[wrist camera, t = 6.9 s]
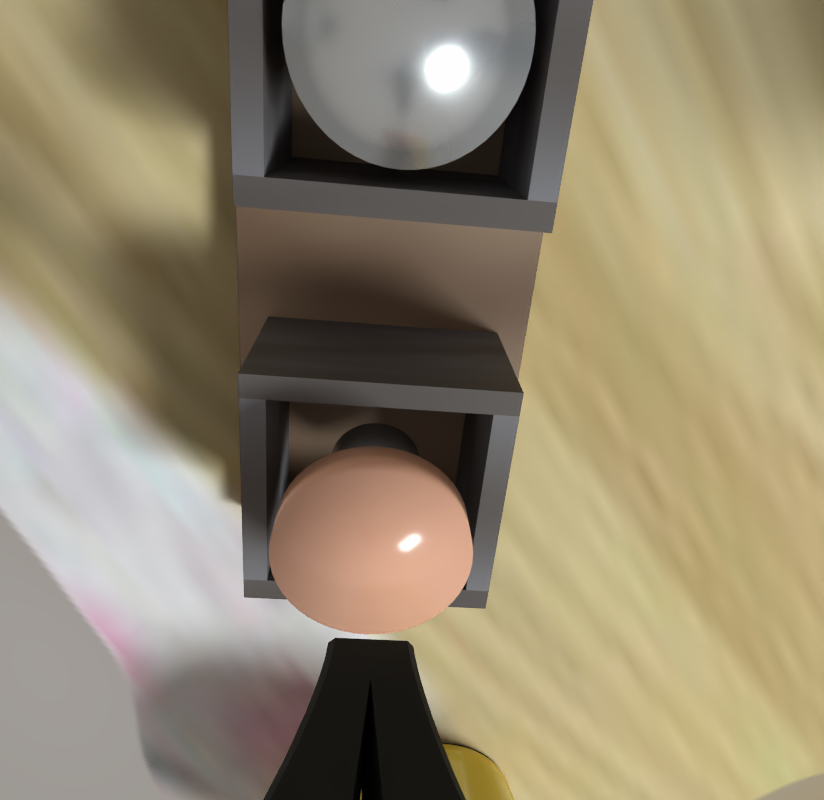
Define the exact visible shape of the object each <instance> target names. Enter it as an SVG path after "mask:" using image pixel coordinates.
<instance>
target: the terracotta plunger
mask: <svg viewBox="0 0 824 800" xmlns="http://www.w3.org/2000/svg"><path fill="white" fill-rule="evenodd" d="M269 561H270V567H271V571H272V574H273V577H274V579H275V581H276V584H277V585H278V587H279V588H280V590H281V592H282V593H283V595H284V596H285V597H286V598H287V599H288V601H289V602H290V603H291V604H292V605H294V606H295V607H296V608H297V609H298V610H299V611H301V612H302V613H303V614H305V615H306V616H308V617H309V618H311V619H313V620H315V621H317V622H318V623H321V624H323V625H326V626H328V627H331V628H334V629H337V630H341V631H346V632H351V633H359V634H384V633H392V632H397V631H402V630H405V629H408V628H412V627H415V626H417V625H419V624H422V623H424V622H426V621H428V620H429V619H431V618H433V617H435V616H436V615H438V614H439V613H440V612H442V611H443V610H444V609H446V608H447V607H448V606H449V605H450V604H451V603H452V602H453V601H454V600H455V598H456V597H457V596H458V595H459V593H460V592H461V590H462V589H463V587H464V585H465V584H466V582H467V579H468V577H469V574H470V571H471V567H472V561H473V544H472V538H471V532H470V526H469V521H468V515H467V511H466V507H465V504H464V501H463V499H462V497H461V494H460V493H459V491H458V489H457V488H456V486H455V485H454V484H453V482H452V481H451V480H450V479H449V478H448V476H447V475H445V474H444V473H443V472H442V471H441V470H440V469H439V468H437V467H436V466H434V465H433V464H432V463H430V462H429V461H427V460H425V459H423V458H421V457H419V453H418V450H417V448H416V445H415V444H414V442H413V441H412V440H411V438H410V437H409V436H408V435H407V434H406V433H404V432H403V431H401V430H400V429H398V428H396V427H393V426H391V425H387V424H381V423H369V424H363V425H359V426H357V427H354V428H352V429H350V430H349V431H347V432H346V433H345V434H343V435H342V436H341V437H340V439H339V440H338V441H337V443H336V444H335V446H334V448H333V451H332V454H329V455H327V456H325V457H323V458H321V459H319V460H317V461H315V462H314V463H312V464H311V465H309V466H308V467H306V468H305V469H304V470H303V471H302V472H301V473H299V474H298V475H297V476H296V477H295V479H294V480H293V481H292V482H291V483H290V485H289V486H288V488H287V489H286V491H285V493H284V494H283V497H282V499H281V501H280V504H279V507H278V511H277V515H276V519H275V523H274V526H273V530H272V534H271V538H270V543H269Z"/></svg>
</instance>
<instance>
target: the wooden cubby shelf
mask: <svg viewBox="0 0 824 800" xmlns="http://www.w3.org/2000/svg"><path fill="white" fill-rule="evenodd" d="M283 1H284V0H228V33H229V69H230V105H231V141H232V177H233V206H236V223H237V262H238V300H239V339H240V371H239V373H238V394H239V430H240V466H241V502H242V538H243V574H244V597H248V598H270V599H287V598H286V597H285V596H284V595H283V593H282V592H281V590H280V588H279V587H278V585H277V584H276V581H275V579H274V577H273V574H272V571H271V567H270V561H269V543H270V538H271V534H272V530H273V526H274V523H275V519H276V515H277V511H278V507H279V504H280V501H281V499H282V497H283V494H284V493H285V491H286V489H287V488H288V486H289V485H290V483H291V482H292V481H293V480H294V479H295V477H296V476H297V475H298V474H299V473H301V472H302V471H303V470H304V469H305V468H306V467H308V466H309V465H311V464H312V463H314V462H315V461H317V460H319V459H321V458H323V457H325V456H327V455H329V454H332V451H333V448H334V446H335V444H336V443H337V441H338V440H339V439H340V437H341V436H342V435H343V434H345V433H346V432H347V431H349V430H350V429H352V428H354V427H357V426H359V425H363V424H369V423H381V424H387V425H391V426H393V427H396V428H398V429H400V430H401V431H403V432H404V433H406V434H407V435H408V436H409V437H410V438H411V440H412V441H413V442H414V444H415V445H416V448H417V450H418V453H419V457H421V458H423V459H425V460H427V461H429V462H430V463H432V464H433V465H434V466H436V467H437V468H439V469H440V470H441V471H442V472H443V473H444V474H445V475H447V476H448V478H449V479H450V480H451V481H452V482H453V484H454V485H455V486H456V488H457V489H458V491H459V493H460V494H461V497H462V499H463V501H464V504H465V507H466V511H467V515H468V521H469V526H470V532H471V538H472V544H473V561H472V567H471V571H470V574H469V577H468V579H467V582H466V584H465V585H464V587H463V589H462V590H461V592H460V593H459V595H458V596H457V597H456V598H455V600H454V601H453V602H452V603H451V604H450V605H449V606H448V607H464V608H486V602H487V596H488V591H489V585H490V579H491V574H492V568H493V563H494V557H495V551H496V546H497V540H498V534H499V529H500V523H501V517H502V512H503V506H504V501H505V495H506V489H507V484H508V478H509V472H510V467H511V461H512V455H513V450H514V444H515V438H516V433H517V427H518V422H519V416H520V410H521V405H522V399H523V391H522V388H521V386H520V384H519V381H518V376H519V370H520V365H521V359H522V353H523V347H524V341H525V335H526V330H527V324H528V318H529V312H530V306H531V300H532V295H533V289H534V283H535V277H536V271H537V266H538V260H539V254H540V248H541V242H542V236H543V232H545V233H552V230H553V224H554V219H555V213H556V207H557V202H558V196H559V190H560V185H561V179H562V173H563V168H564V162H565V156H566V151H567V145H568V140H569V134H570V128H571V123H572V117H573V111H574V106H575V100H576V94H577V89H578V83H579V78H580V72H581V66H582V61H583V55H584V49H585V44H586V38H587V32H588V27H589V21H590V15H591V10H592V4H593V0H534V6H535V22H536V33H535V44H534V52H533V57H532V62H531V66H530V70H529V73H528V76H527V79H526V82H525V85H524V87H523V89H522V91H521V94H520V96H519V98H518V100H517V102H516V104H515V105H514V107H513V108H512V110H511V112H510V113H509V115H508V116H507V118H506V119H505V120H504V121H503V123H502V124H501V125H500V127H499V128H498V129H497V130H496V131H495V132H494V133H493V134H492V135H491V136H490V137H489V138H488V139H487V140H486V141H485V142H483V143H482V144H481V145H479V146H478V147H477V148H475V149H474V150H473V151H471V152H469V153H467V154H466V155H464V156H462V157H461V158H459V159H456V160H454V161H451V162H449V163H446V164H444V165H440V166H436V167H432V168H426V169H418V170H399V169H393V168H386V167H382V166H379V165H375V164H372V163H369V162H367V161H365V160H362V159H360V158H358V157H356V156H354V155H352V154H351V153H349V152H348V151H346V150H344V149H343V148H341V147H340V146H339V145H338V144H336V143H335V142H334V141H333V140H332V139H330V138H329V137H328V136H327V135H326V134H325V133H324V132H323V131H322V129H321V128H320V127H319V126H318V125H317V124H316V123H315V121H314V120H313V119H312V117H311V116H310V115H309V113H308V112H307V110H306V109H305V107H304V105H303V103H302V101H301V100H300V98H299V96H298V94H297V92H296V89H295V87H294V85H293V82H292V80H291V77H290V73H289V70H288V66H287V63H286V58H285V53H284V47H283V37H282V11H283Z"/></svg>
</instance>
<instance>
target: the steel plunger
mask: <svg viewBox="0 0 824 800" xmlns="http://www.w3.org/2000/svg"><path fill="white" fill-rule="evenodd" d="M535 33H536V22H535V6H534V0H284V1H283V11H282V37H283V47H284V53H285V58H286V63H287V66H288V70H289V73H290V77H291V80H292V82H293V85H294V87H295V89H296V92H297V94H298V96H299V98H300V100H301V101H302V103H303V105H304V107H305V109H306V110H307V112H308V113H309V115H310V116H311V117H312V119H313V120H314V121H315V123H316V124H317V125H318V126H319V127H320V128H321V129H322V131H323V132H324V133H325V134H326V135H327V136H328V137H329V138H330V139H332V140H333V141H334V142H335V143H336V144H338V145H339V146H340V147H341V148H343V149H344V150H346V151H348V152H349V153H351V154H352V155H354V156H356V157H358V158H360V159H362V160H365V161H367V162H369V163H372V164H375V165H379V166H382V167H386V168H393V169H399V170H418V169H426V168H432V167H436V166H440V165H444V164H446V163H449V162H451V161H454V160H456V159H459V158H461V157H462V156H464V155H466V154H467V153H469V152H471V151H473V150H474V149H475V148H477V147H478V146H479V145H481V144H482V143H483V142H485V141H486V140H487V139H488V138H489V137H490V136H491V135H492V134H493V133H494V132H495V131H496V130H497V129H498V128H499V127H500V125H501V124H502V123H503V121H504V120H505V119H506V118H507V116H508V115H509V113H510V112H511V110H512V108H513V107H514V105H515V104H516V102H517V100H518V98H519V96H520V94H521V91H522V89H523V87H524V85H525V82H526V79H527V76H528V73H529V70H530V66H531V62H532V57H533V52H534V44H535Z"/></svg>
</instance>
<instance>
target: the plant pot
mask: <svg viewBox="0 0 824 800" xmlns="http://www.w3.org/2000/svg"><path fill="white" fill-rule="evenodd" d="M443 746H444V749H445V751H446V754H447V756H448V759H449V761H450V764H451V767H452V769H453V771H454V774H455V776H456V778H457V781H458V783H459V785H460V787H461V790H462V792H463V794H464V796H465V798H466V800H514V798H513V796H512V793H511V791H510V788H509V786H508V783H507V780H506V778H505V776H504V775H503V773H502V772H501V770H500V769H499V768H498V767H497V765H496V764H494V763H493V762H492V761H491V760H490V759H488V758H487V757H485V756H484V755H482V754H480V753H478V752H476V751H474V750H471V749H468V748H465V747H461V746H457V745H451V744H443ZM360 800H362V791H361V795H360Z"/></svg>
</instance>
